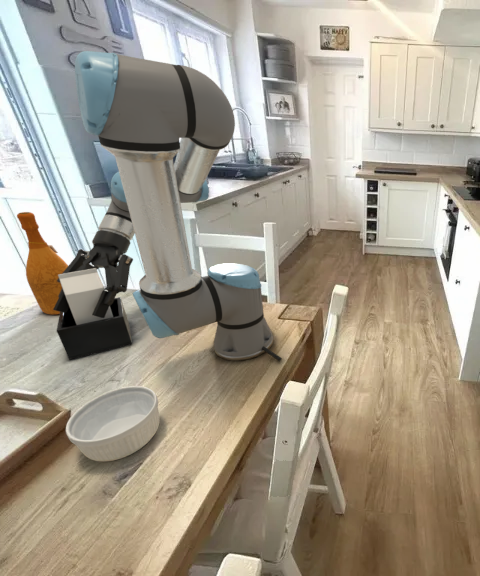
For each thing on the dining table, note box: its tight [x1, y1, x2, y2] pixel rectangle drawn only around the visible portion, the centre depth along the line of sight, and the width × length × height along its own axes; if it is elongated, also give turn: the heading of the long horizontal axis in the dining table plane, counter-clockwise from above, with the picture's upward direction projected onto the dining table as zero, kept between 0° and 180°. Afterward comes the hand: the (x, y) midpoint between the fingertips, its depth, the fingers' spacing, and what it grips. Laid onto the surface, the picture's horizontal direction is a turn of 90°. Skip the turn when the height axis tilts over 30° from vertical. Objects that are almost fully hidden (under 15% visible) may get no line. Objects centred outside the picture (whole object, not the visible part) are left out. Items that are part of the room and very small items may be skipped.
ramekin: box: [65, 385, 160, 462], centre depth 61 cm, size 13×13×7 cm
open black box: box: [56, 296, 133, 361], centre depth 86 cm, size 13×13×9 cm
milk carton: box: [58, 268, 113, 325], centre depth 84 cm, size 7×7×19 cm
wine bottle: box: [16, 211, 69, 315], centre depth 94 cm, size 10×10×30 cm
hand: (78, 314), depth 81 cm, fingers closed on milk carton, 10 cm apart
